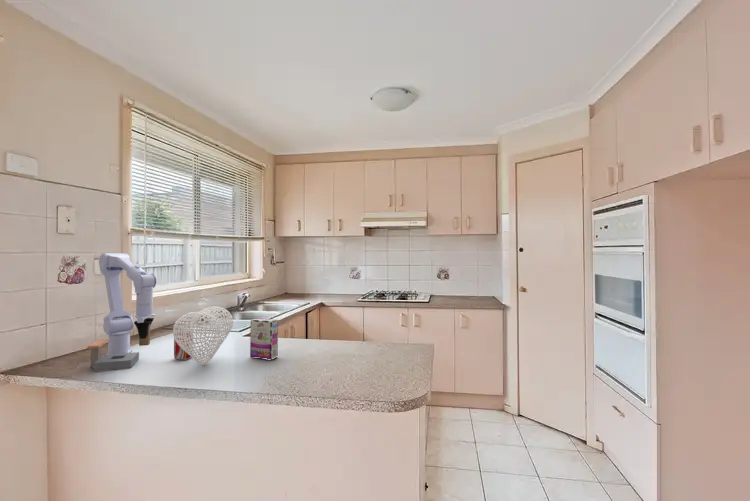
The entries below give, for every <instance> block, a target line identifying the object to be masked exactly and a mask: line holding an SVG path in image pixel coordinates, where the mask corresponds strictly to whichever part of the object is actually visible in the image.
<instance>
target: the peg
mask: <svg viewBox="0 0 750 501" xmlns="http://www.w3.org/2000/svg"><path fill="white" fill-rule="evenodd" d="M138 338H139V337H138ZM150 344H151V326H150V324H149V327H148V331H147V336H146V338H143V339H140V338H139V339H138V346H139V347H142V346H143V347H144V346H149V345H150Z"/></svg>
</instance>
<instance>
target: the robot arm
mask: <svg viewBox="0 0 750 501" xmlns="http://www.w3.org/2000/svg"><path fill="white" fill-rule="evenodd" d="M98 265H99V271H100V273H101V275H104V280H105V288H106V293H107V300H108V306H109V313H108V314H106V316H105V317H104V318H103V326H102V327H103V328H102V329H103V332H104V333H105V334H106V335H107V336H108V342H107V343H108V344H107V345H108V347H107V348H108V349H107V350H108V353H107V354H119V353H132V351H133V349H132V348H131V335H130V333H132V332H131V331H132V330H133V329H134V327H135V328H136V330H137V333H138V338H140V339H143V338H146V336H147V331H148V327H149V324H150V327H151V325H152V323H153V321H154V317H156V316H157V314H156V313H154V312H153V311H154V310H153V306H154V304H153V303H154V302H153V300H154V288H155V287H156V285H157V277H156V275H155V274H154V273H148V272H146V271H145V270H144V269H143V268H141V266H140V265H134V264H133V263H132V261H131V257H130V255H129V254H128V253H127V252H123V253H122V252H121V253H114V252H113V253H111V252H109V253H106V252H102V253H101V254H100V256H99V259H98ZM124 272H125V273H126V276H127V278H129V280H131V281H132V282H133V287H134V293H135V294H136V295H135V296H136V300H135V301H136V302H135V303H136V305H135V306H136V307H135V318H136V319H137V320H134V319H133V317H132V313H130V312H129V311H128V310H125V306H124V301H123V295H122V294H123V293H122V289H121V282H120V277H119V275H121V274H124Z"/></svg>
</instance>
